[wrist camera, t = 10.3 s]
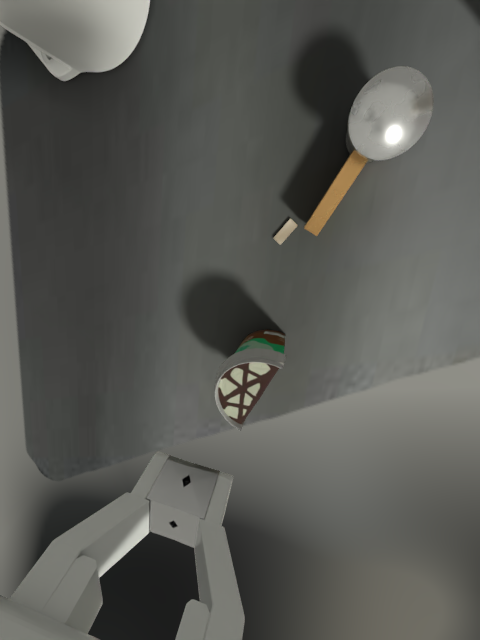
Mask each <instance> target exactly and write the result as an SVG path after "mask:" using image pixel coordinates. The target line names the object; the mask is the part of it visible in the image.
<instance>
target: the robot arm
mask: <svg viewBox="0 0 480 640" xmlns="http://www.w3.org/2000/svg"><path fill="white" fill-rule="evenodd" d="M149 5H150V0H0V26H2V27H3V28H5V29H6V30H8V31H9V32H11V33H13V34H14V35H16V36H17V37H19V38H21V39H22V40H24V41H25V42H27V44H28V45H29V46H30V47H31V49H32V50H33V51H34V52H35V54H36V55H37V56H38V57H39V59H40V60H41V61H42V63H43V64H44V65H45V66H46V68H47V69H48V70H49V71H50V73H51V74H52V75H54V76H55V77H57V78H58V79H60V80H61V81H67V80H70V79H72V78H73V77H75V76H77V75H78V74H79V73H81V72H104V71H108V70H111V69H113V68H115V67H117V66H118V65H120V64H121V63H122V62H124V61H125V60H126V59H127V58H128V56H129V55H130V54H131V53H132V51H133V50H134V49H135V47H136V45H137V43H138V41H139V40H140V37H141V35H142V33H143V30H144V27H145V24H146V20H147V16H148V11H149ZM51 58H52V59H51ZM232 480H233V476H232V475H228V474H225V473H222V472H220V471H217V470H214V469H211V468H208V467H204V466H201V465H197V464H194V463H191V462H188V461H184V460H182V459H179V458H176V457H173V456H171V455H168V454H165V453H161V452H158V451H157V452H156V453H155V455H154V456H153V458H152V459H151V461H150V462H149V464H148V466H147V467H146V469H145V471H144V472H143V474H142V476H141V477H140V479H139V481H138V482H137V484H136V486H135V487H134V489H133V491H132V492H131V493H125V494H124V495H122V496H121V497H119V498H117V499H116V500H114V501H113V502H111V503H110V504H108V505H107V506H105V507H104V508H103V509H101V510H99V511H98V512H96V513H95V514H93V515H92V516H90V517H88V518H87V519H85V520H84V521H82V522H81V523H79V524H78V525H76V526H75V527H73V528H72V529H70V530H69V531H67V532H65V533H64V534H63V535H61V536H60V537H58V538H56V539H55V540H53V541H52V543H51V544H50V545H49V547H48V548H47V549H46V551H45V552H44V553H43V555H42V556H41V558H40V559H39V560H38V561H37V563H36V564H35V565H34V567H33V568H32V569H31V571H30V572H29V573H28V575H27V576H26V577H25V579H24V580H23V581H22V583H21V584H20V585H19V587H18V588H17V589H16V591H15V592H14V593H13V595H12V596H11V597H10V599H8V598H6V597H3V596H1V595H0V640H99V639H97V638H95V637H93V636H90V635H88V632H89V630H90V628H91V625H92V624H93V621H94V620H95V618H96V616H97V613H98V611H99V609H100V607H101V605H102V593H101V588H100V583H99V577H101V576H102V575H103V574H104V573H105V572H106V571H107V570H108V569H109V568H110V567H112V566H113V565H114V564H115V563H116V562H117V561H118V560H119V559H121V558H122V557H123V556H124V555H125V554H126V553H127V552H128V551H129V550H131V549H132V548H133V547H134V546H135V545H136V544H137V543H138V542H139V541H140V540H141V539H143V538H144V537H145V536H146V535H147V534H148V533H149V531H151V532H153V533H156V534H159V535H162V536H165V537H168V538H171V539H174V540H176V541H178V542H181V543H183V544H186V545H188V546H191V547H193V548H195V549H194V550H195V560H196V569H197V578H198V587H199V597H200V602H198V601H196V600H191V601H189V602H188V603H187V604H186V607H185V610H184V614H183V617H182V620H181V623H180V627H179V630H178V633H177V636H176V639H175V640H242V635H243V628H244V621H245V617H244V613H243V608H242V604H241V599H240V595H239V590H238V586H237V582H236V577H235V573H234V569H233V564H232V559H231V555H230V551H229V546H228V542H227V537H226V533H225V529H224V527H222V526H221V525H222V521H223V517H224V514H225V509H226V505H227V501H228V497H229V492H230V488H231V484H232Z"/></svg>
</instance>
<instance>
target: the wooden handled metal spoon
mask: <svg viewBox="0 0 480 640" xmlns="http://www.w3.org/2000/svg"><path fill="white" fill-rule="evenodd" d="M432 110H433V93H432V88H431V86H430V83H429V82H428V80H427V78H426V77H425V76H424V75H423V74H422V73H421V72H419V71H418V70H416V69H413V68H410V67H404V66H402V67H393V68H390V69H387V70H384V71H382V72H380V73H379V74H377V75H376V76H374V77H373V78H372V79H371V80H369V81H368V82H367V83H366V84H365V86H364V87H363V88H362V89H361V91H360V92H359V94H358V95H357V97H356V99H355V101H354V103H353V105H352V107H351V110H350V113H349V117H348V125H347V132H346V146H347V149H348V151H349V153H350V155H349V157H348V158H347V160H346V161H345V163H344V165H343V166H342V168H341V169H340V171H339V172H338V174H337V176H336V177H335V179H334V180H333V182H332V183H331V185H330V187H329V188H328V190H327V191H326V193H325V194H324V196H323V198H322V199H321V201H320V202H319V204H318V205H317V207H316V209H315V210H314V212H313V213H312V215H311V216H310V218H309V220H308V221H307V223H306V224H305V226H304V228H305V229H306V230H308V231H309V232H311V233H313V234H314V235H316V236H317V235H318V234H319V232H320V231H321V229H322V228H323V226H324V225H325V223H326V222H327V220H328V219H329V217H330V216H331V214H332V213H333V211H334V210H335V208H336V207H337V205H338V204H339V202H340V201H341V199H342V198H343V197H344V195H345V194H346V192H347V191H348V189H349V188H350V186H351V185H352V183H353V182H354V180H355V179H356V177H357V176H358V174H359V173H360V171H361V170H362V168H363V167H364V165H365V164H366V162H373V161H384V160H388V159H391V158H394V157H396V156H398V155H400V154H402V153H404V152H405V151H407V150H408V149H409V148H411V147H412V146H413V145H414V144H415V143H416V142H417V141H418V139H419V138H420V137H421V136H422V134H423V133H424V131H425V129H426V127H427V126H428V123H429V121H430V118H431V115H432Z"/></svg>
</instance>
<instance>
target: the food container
mask: <svg viewBox="0 0 480 640" xmlns="http://www.w3.org/2000/svg"><path fill="white" fill-rule="evenodd" d="M284 346H285V334H284V333H281V332H279V331H274V330H268V329H267V330H259V331H256V332H254V333H251V334H249V335H248V336H247V337H246V338H245V339H244V340H243V341H242V343H241V345H240V346H239V348H238V349H237V351H236V352H235V354H233V355H231V356H230V357H229V358H227V359H226V360H225V361H224V362H223V363H222V365H221V366H220V368H219V370H218V372H217V376H216V382H215V399H216V403H217V406H218V409H219V410H220V412H221V414H222V415H223V416H224V418H225V419H226V420H227V421H228V422H229V423H230V424H231V425H233V426H234V427H235V428H237V429H238V430H241V429H242V426H243V423H244V421H245V419H246V417H247V416H248V414H249V413H250V411H251V410H252V408H253V407H254V406H255V404H256V403H257V401H258V400H259V399H260V397H261V395H262V394H263V392H264V391H265V389H266V387H267V386H268V384H269V383H270V381H271V380H272V378H273V377H274V375H275V374H276V372H277V371H278V369H279V368H281V369H282V368H283V365H284V362H285V358H286V355H284Z"/></svg>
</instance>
